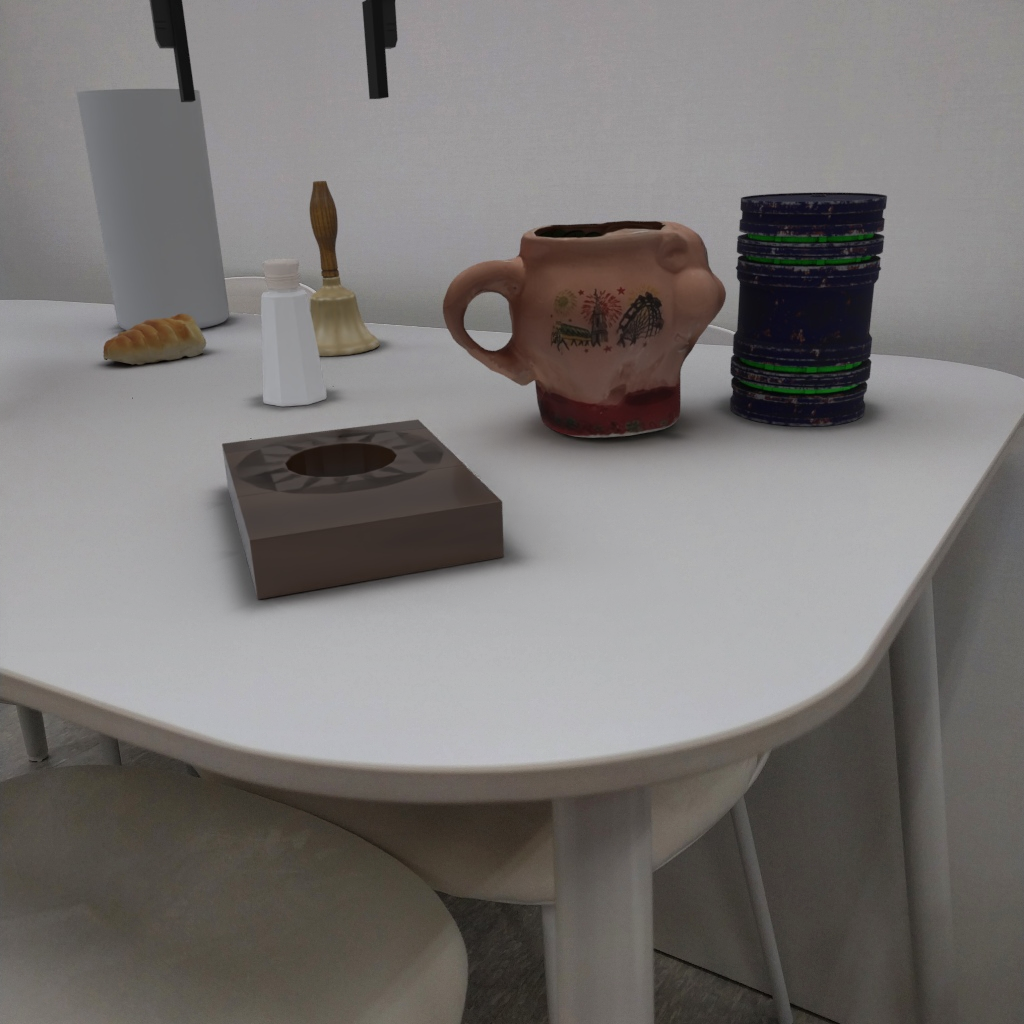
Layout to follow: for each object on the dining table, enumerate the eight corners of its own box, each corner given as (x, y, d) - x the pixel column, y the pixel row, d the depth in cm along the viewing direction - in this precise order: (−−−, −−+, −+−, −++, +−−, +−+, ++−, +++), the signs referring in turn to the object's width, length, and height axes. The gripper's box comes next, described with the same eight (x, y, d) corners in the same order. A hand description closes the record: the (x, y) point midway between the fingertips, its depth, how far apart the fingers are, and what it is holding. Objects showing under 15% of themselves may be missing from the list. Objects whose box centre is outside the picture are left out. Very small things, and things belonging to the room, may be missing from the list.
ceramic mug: (488, 474, 60) (479, 242, 55) (426, 425, 70) (413, 226, 65) (757, 429, 67) (770, 220, 62) (664, 391, 77) (669, 210, 72)
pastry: (127, 371, 90) (120, 330, 89) (90, 363, 94) (83, 324, 93) (213, 352, 97) (207, 314, 96) (175, 346, 101) (169, 309, 100)
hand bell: (318, 360, 92) (300, 184, 87) (283, 347, 99) (264, 182, 93) (394, 347, 97) (382, 179, 91) (355, 336, 103) (342, 178, 97)
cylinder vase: (239, 313, 120) (210, 92, 111) (217, 331, 108) (183, 87, 99) (136, 317, 119) (99, 96, 110) (103, 336, 107) (58, 91, 98)
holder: (228, 490, 58) (221, 443, 57) (421, 464, 62) (418, 419, 61) (257, 600, 44) (249, 540, 43) (504, 557, 48) (502, 500, 47)
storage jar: (857, 432, 66) (881, 201, 60) (714, 419, 70) (724, 202, 64) (873, 397, 74) (895, 191, 69) (744, 387, 78) (755, 192, 73)
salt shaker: (275, 410, 75) (258, 266, 71) (252, 397, 80) (234, 260, 76) (339, 399, 78) (326, 259, 74) (313, 386, 82) (299, 254, 78)
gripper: (31, -311, 54) (101, 100, 62) (452, -262, 63) (467, 94, 70) (38, -262, 61) (100, 105, 68) (419, -223, 69) (436, 99, 77)
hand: (286, 100), depth 70 cm, fingers open, 13 cm apart
